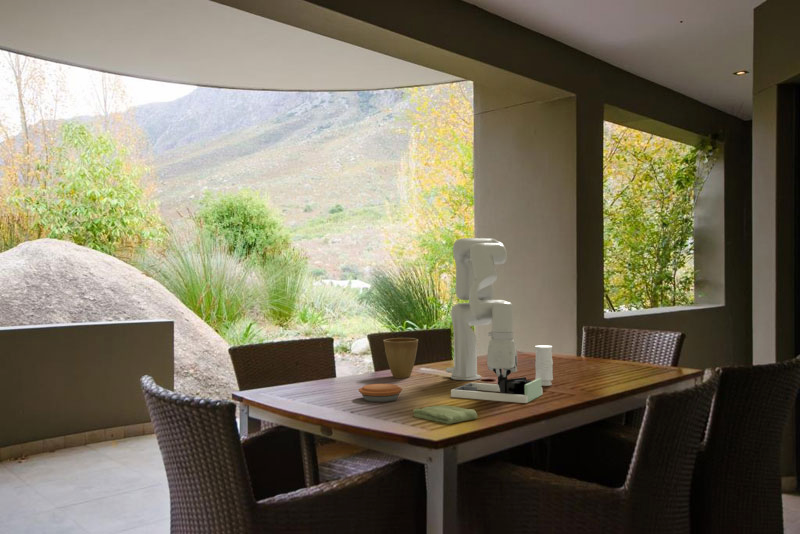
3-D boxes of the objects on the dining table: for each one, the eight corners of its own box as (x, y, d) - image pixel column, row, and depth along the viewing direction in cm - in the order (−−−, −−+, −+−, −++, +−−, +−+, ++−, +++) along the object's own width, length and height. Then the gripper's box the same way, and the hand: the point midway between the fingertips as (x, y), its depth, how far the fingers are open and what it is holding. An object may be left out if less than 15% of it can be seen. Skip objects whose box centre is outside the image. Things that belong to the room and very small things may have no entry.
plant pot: (382, 374, 296) (382, 338, 296) (416, 373, 298) (415, 337, 298) (385, 380, 281) (385, 341, 281) (420, 378, 283) (420, 340, 283)
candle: (551, 382, 268) (551, 345, 269) (554, 385, 262) (553, 347, 262) (534, 382, 269) (533, 345, 269) (536, 385, 262) (535, 347, 262)
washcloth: (441, 411, 218) (441, 401, 218) (480, 420, 204) (479, 409, 204) (409, 417, 210) (409, 407, 210) (448, 427, 196) (448, 416, 196)
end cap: (520, 394, 243) (520, 376, 243) (534, 397, 237) (534, 378, 237) (499, 398, 238) (499, 378, 238) (512, 401, 232) (512, 381, 232)
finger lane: (451, 396, 241) (450, 380, 241) (470, 389, 257) (470, 373, 257) (526, 403, 227) (526, 385, 227) (542, 394, 243) (542, 377, 243)
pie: (393, 404, 229) (393, 389, 229) (351, 402, 234) (351, 387, 234) (408, 396, 243) (408, 382, 243) (369, 394, 249) (368, 380, 249)
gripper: (478, 336, 241) (479, 387, 242) (518, 338, 234) (518, 391, 234) (487, 334, 248) (487, 383, 248) (526, 336, 240) (526, 387, 240)
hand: (502, 387), depth 241 cm, fingers closed
